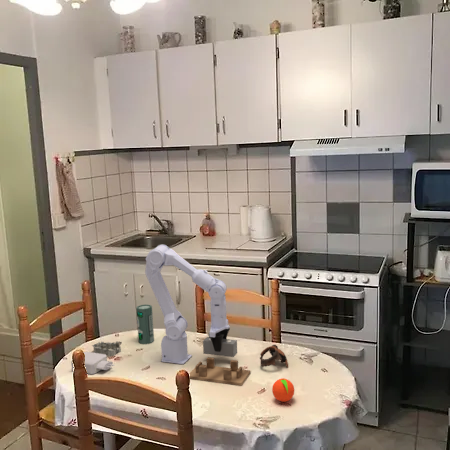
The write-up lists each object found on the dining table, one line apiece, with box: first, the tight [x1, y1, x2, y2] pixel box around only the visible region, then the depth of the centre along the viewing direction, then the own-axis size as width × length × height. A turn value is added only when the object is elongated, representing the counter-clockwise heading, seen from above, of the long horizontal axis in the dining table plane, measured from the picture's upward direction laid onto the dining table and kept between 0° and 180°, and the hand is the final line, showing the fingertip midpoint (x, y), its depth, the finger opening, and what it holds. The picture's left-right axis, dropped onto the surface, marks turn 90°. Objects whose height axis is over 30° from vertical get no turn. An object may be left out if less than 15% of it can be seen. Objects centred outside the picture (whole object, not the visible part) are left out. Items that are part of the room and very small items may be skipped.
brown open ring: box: [259, 344, 289, 369], centre depth 187 cm, size 12×10×8 cm
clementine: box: [271, 377, 295, 403], centre depth 160 cm, size 8×7×7 cm
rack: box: [188, 356, 252, 387], centre depth 179 cm, size 20×10×4 cm, turn 70°
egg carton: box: [91, 340, 122, 357], centre depth 205 cm, size 11×8×4 cm
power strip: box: [202, 336, 238, 358], centre depth 191 cm, size 12×4×5 cm, turn 70°
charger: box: [70, 351, 115, 375], centre depth 189 cm, size 5×9×15 cm
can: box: [135, 304, 155, 345], centre depth 213 cm, size 6×6×15 cm
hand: (219, 348), depth 192 cm, fingers closed on power strip, 4 cm apart
